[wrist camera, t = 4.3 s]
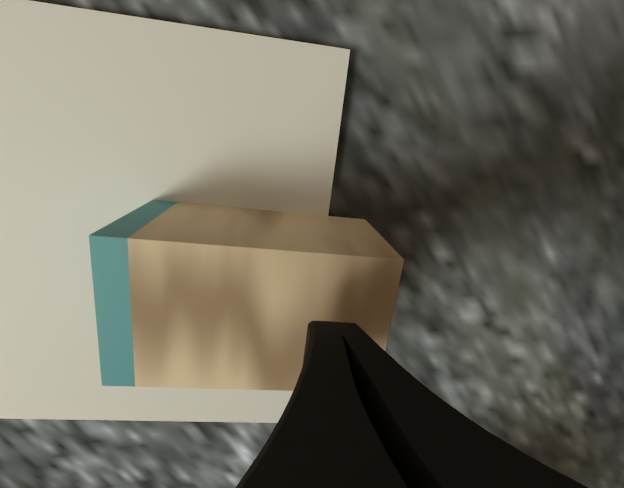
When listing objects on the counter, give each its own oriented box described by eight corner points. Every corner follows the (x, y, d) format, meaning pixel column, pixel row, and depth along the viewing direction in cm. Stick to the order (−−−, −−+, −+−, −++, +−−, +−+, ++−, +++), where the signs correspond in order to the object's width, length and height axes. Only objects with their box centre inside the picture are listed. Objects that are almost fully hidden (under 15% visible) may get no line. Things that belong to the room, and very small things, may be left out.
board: (300, 414, 19) (300, 423, 18) (-65, 407, 17) (-77, 417, 16) (347, 52, 14) (350, 49, 13) (-184, -28, 11) (-208, -36, 11)
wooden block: (376, 393, 12) (102, 385, 11) (348, 318, 17) (155, 308, 16) (404, 259, 10) (88, 235, 9) (365, 219, 15) (152, 199, 14)
